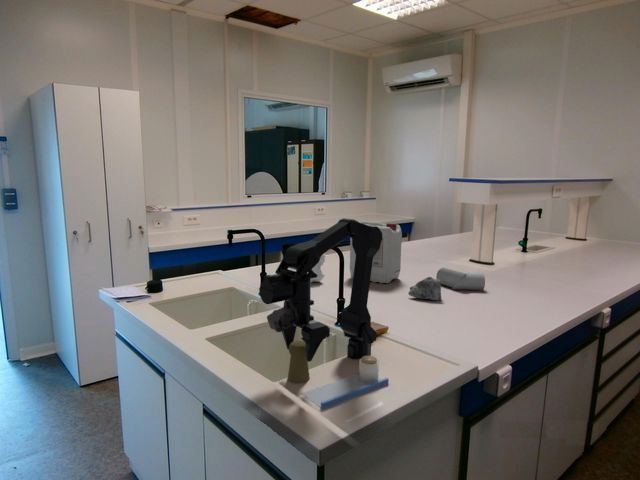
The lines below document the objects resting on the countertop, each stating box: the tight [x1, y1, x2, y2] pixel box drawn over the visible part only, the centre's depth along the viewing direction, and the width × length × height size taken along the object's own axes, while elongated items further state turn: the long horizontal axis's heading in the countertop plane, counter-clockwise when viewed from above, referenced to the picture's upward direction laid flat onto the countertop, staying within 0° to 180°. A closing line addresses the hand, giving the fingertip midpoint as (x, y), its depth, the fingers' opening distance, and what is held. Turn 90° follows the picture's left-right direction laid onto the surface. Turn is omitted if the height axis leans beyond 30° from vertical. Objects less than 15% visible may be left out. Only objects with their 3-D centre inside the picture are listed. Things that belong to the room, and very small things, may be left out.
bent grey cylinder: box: [435, 267, 486, 291], centre depth 213 cm, size 18×11×20 cm
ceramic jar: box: [358, 355, 380, 384], centre depth 113 cm, size 5×5×6 cm
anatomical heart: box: [311, 253, 326, 283], centre depth 220 cm, size 10×11×15 cm
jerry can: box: [349, 220, 403, 284], centre depth 227 cm, size 24×19×30 cm
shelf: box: [301, 372, 390, 410], centre depth 108 cm, size 21×9×2 cm, turn 127°
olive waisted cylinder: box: [287, 340, 310, 384], centre depth 113 cm, size 6×6×11 cm
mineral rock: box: [407, 276, 442, 301], centre depth 192 cm, size 13×11×10 cm
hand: (299, 355), depth 113 cm, fingers open, 9 cm apart
